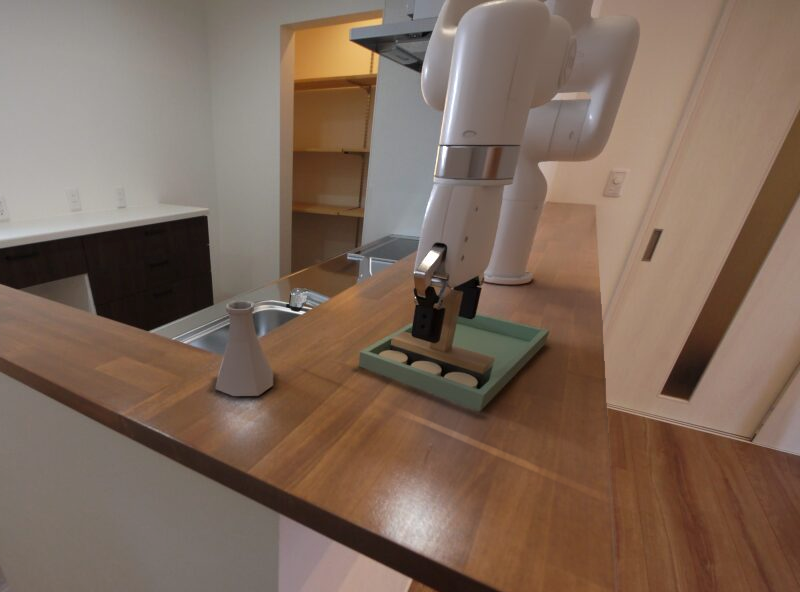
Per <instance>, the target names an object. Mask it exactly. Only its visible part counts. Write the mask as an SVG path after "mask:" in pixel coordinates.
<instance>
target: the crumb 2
mask: <svg viewBox="0 0 800 592" xmlns="http://www.w3.org/2000/svg"><path fill="white" fill-rule="evenodd" d="M411 366H412V367H415V368H418V369H421V370H423V371H426V372H429V373H432V374H435V375H438V376H441V372H442V369H441V367H440V366H439V365H437V364H435V363H433V362H429V361H417V362H414V363H412V364H411Z"/></svg>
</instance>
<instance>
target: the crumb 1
mask: <svg viewBox="0 0 800 592" xmlns="http://www.w3.org/2000/svg"><path fill="white" fill-rule="evenodd" d="M379 355H380V356H383V357H386V358H389V359H391V360H394V361H397V362H400V363H403V364H406V365H407V360H408V357H407V355H406V354H404V353H402V352H399V351H394V350H387V351H383V352H381V353H379Z"/></svg>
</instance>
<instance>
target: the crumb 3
mask: <svg viewBox="0 0 800 592" xmlns="http://www.w3.org/2000/svg"><path fill="white" fill-rule="evenodd" d="M444 378H447V379H450V380H453V381H455V382H458V383H461V384H464V385H467V386H470V387H473V388H477V384H478V381H477V379H476V378H475V377H473V376H471V375H469V374H466V373H461V372H451V373H448V374H446V375H445V377H444Z"/></svg>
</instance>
